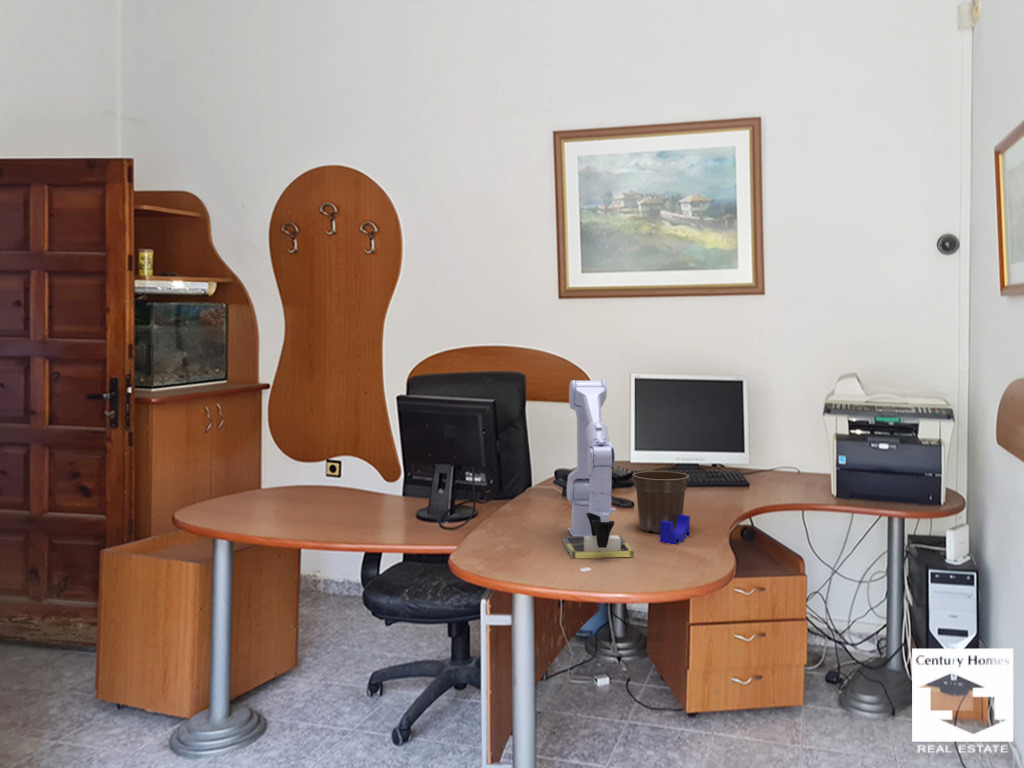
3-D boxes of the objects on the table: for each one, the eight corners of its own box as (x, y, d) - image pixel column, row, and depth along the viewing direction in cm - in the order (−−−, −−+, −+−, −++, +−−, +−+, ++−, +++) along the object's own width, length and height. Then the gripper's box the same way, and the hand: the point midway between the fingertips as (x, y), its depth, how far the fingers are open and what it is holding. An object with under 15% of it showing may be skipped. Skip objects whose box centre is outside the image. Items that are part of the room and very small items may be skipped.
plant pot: (622, 525, 264) (623, 471, 263) (670, 521, 269) (671, 469, 268) (647, 537, 248) (648, 480, 247) (698, 533, 253) (699, 477, 252)
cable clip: (674, 545, 240) (675, 523, 239) (660, 543, 243) (660, 521, 242) (694, 537, 249) (694, 516, 249) (679, 535, 252) (680, 514, 252)
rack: (562, 542, 242) (562, 535, 242) (620, 541, 243) (620, 535, 243) (571, 558, 225) (571, 551, 225) (633, 557, 226) (633, 550, 226)
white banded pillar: (583, 552, 231) (583, 535, 231) (617, 552, 232) (617, 534, 232) (585, 556, 228) (586, 538, 227) (620, 555, 228) (620, 538, 228)
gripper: (621, 497, 222) (620, 550, 223) (610, 486, 236) (609, 536, 237) (593, 497, 221) (592, 550, 222) (584, 486, 236) (583, 537, 237)
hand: (599, 543), depth 230 cm, fingers open, 7 cm apart
